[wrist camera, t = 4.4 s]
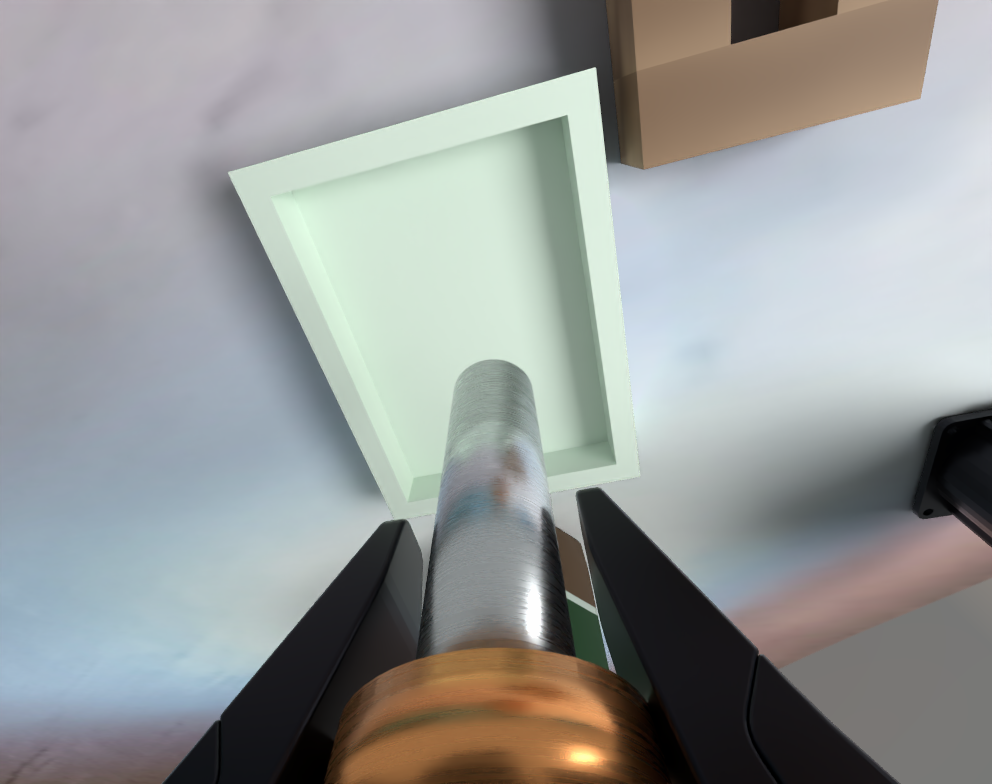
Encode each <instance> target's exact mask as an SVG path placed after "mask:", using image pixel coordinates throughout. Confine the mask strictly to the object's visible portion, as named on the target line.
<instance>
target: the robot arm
mask: <svg viewBox="0 0 992 784" xmlns="http://www.w3.org/2000/svg"><path fill="white" fill-rule="evenodd" d="M576 500H577V506H578V512H579V518H580V524H581V530H582V535H583V540H584V545H585V550H586V555H587V559H588V564H589V569H590V574H591V579H592V584H593V589H594V594H595V598H596V603H597V608H598V613H599V617H600V621H601V625H602V629H603V632H604V636H605V639H606V642H607V645H608V648H609V651H610V655H611V658H612V661H613V664H614V667H615V670H616V673H617V675H618V676H620V677H622V678H623V679H625V680H626V681H628V682H629V683H630V684H631V685H632V686H633V687H635V688H636V689H637V690H638V691H639V692H640V693H641V695H642V696H643V697H644V698H645V700H646V701H647V703H648V706H649V709H650V712H651V715H652V718H653V721H654V724H655V728H656V731H657V734H658V737H659V740H660V744H661V747H662V751H663V755H664V758H665V762H666V765H667V769H668V773H669V776H670V780H671V784H900V783H899V782H898V781H897V780H896V779H894V778H893V777H892V776H891V775H890V774H889V773H888V772H886V771H885V770H884V769H883V768H882V767H881V766H880V765H879V764H878V763H876V762H875V761H874V760H873V759H872V758H871V757H870V756H869V755H867V754H866V753H865V752H864V751H863V750H862V749H861V748H860V747H859V746H857V745H856V744H855V743H854V742H853V741H852V740H851V739H850V738H849V737H847V736H846V735H845V734H844V733H843V732H842V731H841V730H840V729H839V728H837V727H836V726H835V725H834V724H833V723H832V722H831V721H830V720H829V719H828V718H827V717H826V716H825V715H824V714H823V713H822V712H821V711H820V710H819V709H818V708H817V707H816V706H814V705H813V704H812V702H810V701H809V700H808V699H807V698H806V697H805V696H804V695H803V694H802V693H801V692H800V691H799V690H798V689H797V688H796V687H795V686H794V685H793V684H792V683H791V682H790V681H789V680H788V679H787V678H786V677H785V676H784V675H783V674H782V673H781V672H780V671H779V670H778V669H777V668H776V667H775V666H774V665H773V663H772V662H771V661H770V660H769V659H768V658H767V657H766V656H765V655H762V654H760V655H759V656H758V654H759V651H758V649H757V647H756V646H755V645H754V644H753V643H752V642H751V641H750V640H749V639H748V638H747V637H746V636H745V635H744V634H743V633H742V632H741V631H740V630H739V629H738V628H737V627H736V626H735V625H734V624H733V623H732V622H731V621H730V620H729V619H728V618H727V617H726V616H725V615H724V614H723V613H722V612H721V611H720V610H719V609H718V608H717V607H716V606H715V604H714V603H713V602H712V601H711V600H710V599H709V598H708V597H707V596H706V595H705V594H704V593H703V592H702V591H701V590H700V589H699V588H698V587H697V586H696V585H695V584H694V583H693V582H692V581H691V580H690V579H689V578H688V577H687V576H686V575H685V574H684V573H683V572H682V571H681V570H680V569H679V568H678V567H677V566H676V565H675V564H674V563H673V562H672V560H671V559H670V558H669V557H668V556H667V555H666V554H665V553H664V552H663V551H662V550H661V549H660V548H659V547H658V546H657V545H656V544H655V543H654V542H653V541H652V540H651V539H650V538H649V537H648V536H647V535H646V534H645V533H644V532H643V531H642V530H641V529H640V528H639V527H638V526H637V525H636V524H635V523H634V522H633V521H632V520H631V519H630V517H629V516H628V515H627V514H626V513H625V512H624V511H623V510H622V509H621V508H620V507H619V506H618V505H617V504H616V503H615V502H614V501H613V500H612V499H611V498H610V497H609V496H608V495H607V494H606V493H605V492H604V491H603V490H602V489H601V488H598V487H596V488H590V489H584V490H579V491H577V492H576ZM912 511H913V512H914V513H915V514H916V515H917V516H918V517H919V518H922V519H928V518H934V517H940V516H947V515H954V516H955V517H956V518H957V519H959V520H960V521H961V522H962V523H963V524H965V525H966V526H967V527H968V528H969V529H970V530H972V531H973V532H974V533H975V534H976V535H978V536H979V537H980V538H981V539H982V540H983V541H985V542H986V543H987V544H988V545H989V546H991V547H992V409H991V410H986V411H980V412H975V413H969V414H964V415H958V416H953V417H948V418H945V419H943V420H941V421H940V422H939V423H938V424H937V425H936V427H935V430H934V434H933V437H932V441H931V444H930V448H929V452H928V455H927V459H926V462H925V466H924V469H923V473H922V476H921V480H920V484H919V487H918V491H917V494H916V498H915V501H914V505H913V508H912ZM422 572H423V559H422V553H421V550H420V547H419V545H418V542H417V540H416V538H415V535H414V533H413V530H412V528H411V526H410V524H409V522H408V521H407V520H406V519H398V520H392V521H386V522H384V523H382V524H381V525H380V526H379V527H378V528H377V530H376V531H375V532H374V533H373V534H372V536H371V537H370V538H369V539H368V540H367V542H366V543H365V544H364V545H363V546H362V547H361V549H360V550H359V551H358V552H357V553H356V555H355V556H354V557H353V558H352V559H351V561H350V562H349V563H348V564H347V565H346V567H345V568H344V569H343V570H342V571H341V572H340V574H339V575H338V576H337V577H336V578H335V580H334V581H333V582H332V583H331V584H330V586H329V587H328V588H327V589H326V590H325V592H324V593H323V594H322V595H321V596H320V597H319V599H318V600H317V601H316V602H315V603H314V605H313V606H312V607H311V608H310V609H309V611H308V612H307V613H306V614H305V615H304V617H303V618H302V619H301V620H300V621H299V622H298V624H297V625H296V626H295V627H294V628H293V630H292V631H291V632H290V633H289V634H288V636H287V637H286V638H285V639H284V640H283V642H282V643H281V644H280V645H279V646H278V647H277V649H276V650H275V651H274V652H273V653H272V655H271V656H270V657H269V658H268V659H267V661H266V662H265V663H264V664H263V665H262V667H261V668H260V669H259V670H258V671H257V672H256V674H255V675H254V676H253V677H252V678H251V680H250V681H249V682H248V683H247V684H246V686H245V687H244V688H243V689H242V690H241V692H240V693H239V694H238V695H237V696H236V697H235V699H234V700H233V701H232V702H231V703H230V705H229V706H228V707H227V708H226V709H225V711H224V712H223V713H222V714H221V718H220V720H217V721H215V722H214V723H213V725H212V726H211V727H210V728H209V729H208V731H207V732H206V733H205V734H204V735H203V736H202V738H201V739H200V740H199V741H198V742H197V744H196V745H195V746H194V747H193V748H192V750H191V751H190V752H189V753H188V754H187V755H186V756H185V758H184V759H183V760H182V761H181V762H180V763H179V765H178V766H177V767H176V768H175V769H174V770H173V771H172V773H171V774H170V775H169V776H168V777H167V778H166V780H165V781H164V782H163V783H162V784H323V783H324V780H325V776H326V772H327V768H328V764H329V760H330V756H331V752H332V748H333V744H334V740H335V736H336V733H337V729H338V725H339V721H340V717H341V714H342V712H343V710H344V708H345V706H346V704H347V703H348V702H349V700H350V699H351V698H352V696H353V695H354V694H355V693H356V692H357V691H358V690H359V689H361V688H362V687H363V686H364V685H365V684H367V683H368V682H370V681H371V680H373V679H374V678H376V677H377V676H379V675H381V674H383V673H385V672H387V671H389V670H391V669H393V668H395V667H397V666H400V665H403V664H405V663H408V662H411V661H414V660H416V652H417V645H418V638H419V631H420V624H421V606H422Z"/></svg>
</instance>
